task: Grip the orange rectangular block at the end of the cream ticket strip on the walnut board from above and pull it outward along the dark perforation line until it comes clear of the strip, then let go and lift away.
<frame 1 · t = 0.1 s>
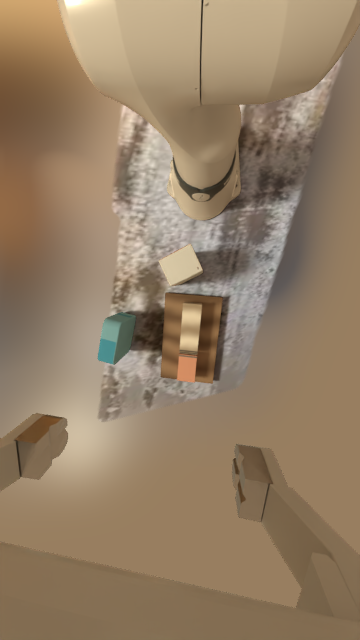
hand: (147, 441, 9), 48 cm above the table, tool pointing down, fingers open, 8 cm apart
orange rectangular block: (187, 365, 55), point 4 cm above the table, slide at 0.0 cm
data package: (126, 331, 60), on the table
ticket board: (190, 337, 57), on the table
small box: (185, 269, 54), on the table
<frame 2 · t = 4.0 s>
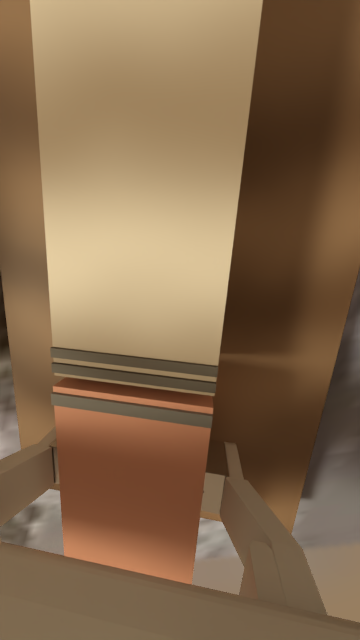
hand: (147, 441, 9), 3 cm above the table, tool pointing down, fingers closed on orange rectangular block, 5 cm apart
orange rectangular block: (142, 456, 8), point 4 cm above the table, slide at 0.0 cm, touching gripper
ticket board: (168, 283, 11), on the table
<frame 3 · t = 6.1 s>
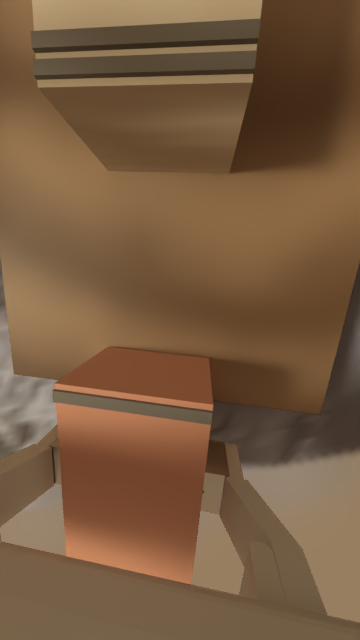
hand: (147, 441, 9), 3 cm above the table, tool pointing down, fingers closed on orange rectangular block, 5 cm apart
orange rectangular block: (143, 453, 8), point 4 cm above the table, slide at 7.4 cm, touching gripper
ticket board: (178, 124, 9), on the table
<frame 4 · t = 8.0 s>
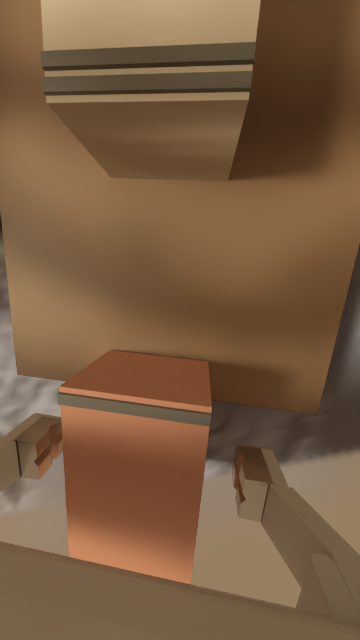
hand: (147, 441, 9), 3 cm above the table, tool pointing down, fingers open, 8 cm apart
orange rectangular block: (144, 454, 8), point 4 cm above the table, slide at 7.6 cm
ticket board: (178, 132, 9), on the table
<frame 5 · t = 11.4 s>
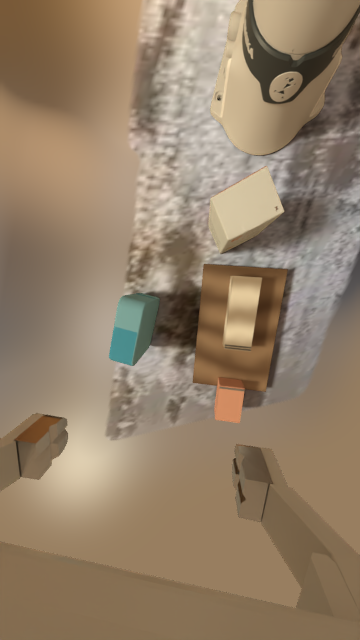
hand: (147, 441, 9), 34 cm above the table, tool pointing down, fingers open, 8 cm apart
orange rectangular block: (228, 399, 41), point 4 cm above the table, slide at 7.6 cm
data package: (146, 319, 44), on the table
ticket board: (234, 328, 42), on the table
small box: (232, 230, 38), on the table
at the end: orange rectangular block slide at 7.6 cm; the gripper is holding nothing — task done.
